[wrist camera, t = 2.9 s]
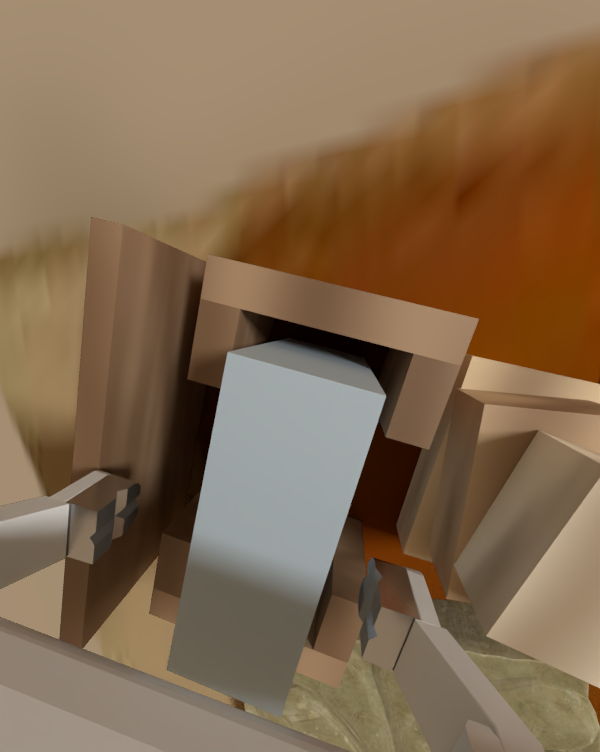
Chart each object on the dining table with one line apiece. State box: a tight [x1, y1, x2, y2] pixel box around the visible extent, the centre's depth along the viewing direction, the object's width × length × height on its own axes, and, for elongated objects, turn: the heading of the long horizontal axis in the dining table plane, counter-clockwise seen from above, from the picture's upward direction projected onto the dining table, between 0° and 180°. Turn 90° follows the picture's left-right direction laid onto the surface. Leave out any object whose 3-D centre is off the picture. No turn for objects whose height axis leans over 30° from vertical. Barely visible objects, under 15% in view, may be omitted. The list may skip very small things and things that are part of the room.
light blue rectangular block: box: [167, 338, 386, 718], centre depth 12 cm, size 4×11×8 cm, turn 166°
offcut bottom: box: [396, 354, 600, 562], centre depth 13 cm, size 6×10×2 cm, turn 168°
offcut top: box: [454, 430, 600, 688], centre depth 9 cm, size 4×6×2 cm, turn 159°
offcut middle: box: [428, 388, 600, 603], centre depth 11 cm, size 5×8×2 cm, turn 176°
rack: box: [59, 217, 479, 688], centre depth 12 cm, size 12×16×7 cm
